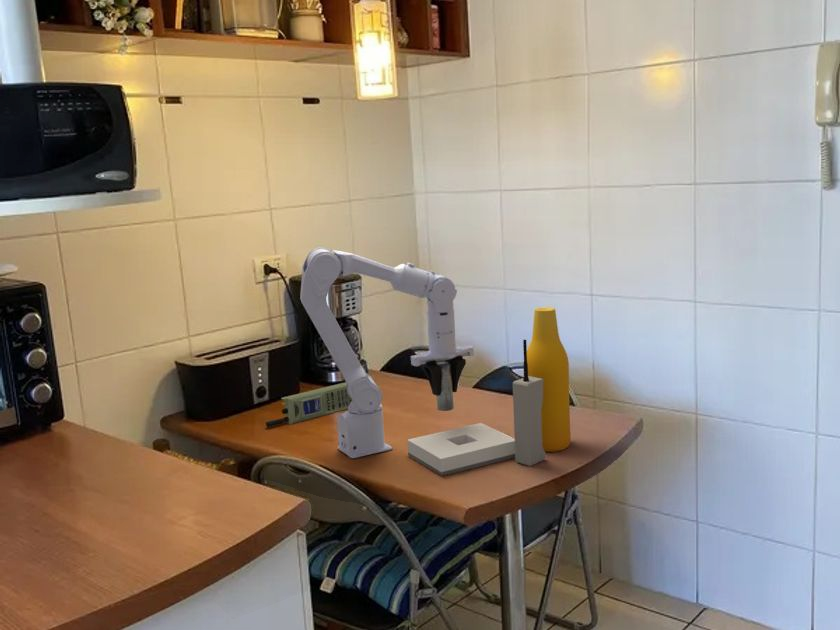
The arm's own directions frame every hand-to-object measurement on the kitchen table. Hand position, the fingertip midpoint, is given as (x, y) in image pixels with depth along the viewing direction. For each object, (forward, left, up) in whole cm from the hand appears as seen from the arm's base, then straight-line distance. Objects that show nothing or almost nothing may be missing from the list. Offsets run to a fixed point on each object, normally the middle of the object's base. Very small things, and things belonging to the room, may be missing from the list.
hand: (444, 392), depth 181 cm
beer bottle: (+15, -16, -11) cm, 25 cm away
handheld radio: (-18, +34, -11) cm, 40 cm away
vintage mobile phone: (+7, -22, -11) cm, 25 cm away
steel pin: (0, 0, -3) cm, 3 cm away
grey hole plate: (-3, -11, -10) cm, 16 cm away
